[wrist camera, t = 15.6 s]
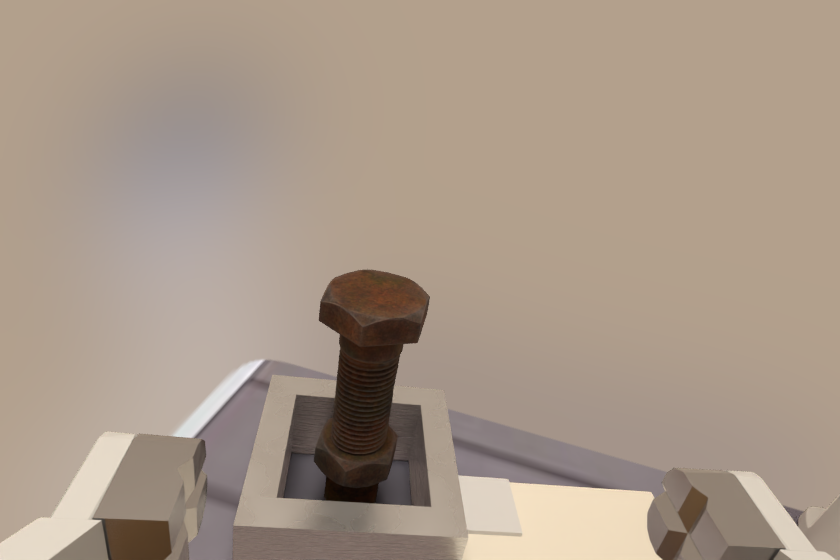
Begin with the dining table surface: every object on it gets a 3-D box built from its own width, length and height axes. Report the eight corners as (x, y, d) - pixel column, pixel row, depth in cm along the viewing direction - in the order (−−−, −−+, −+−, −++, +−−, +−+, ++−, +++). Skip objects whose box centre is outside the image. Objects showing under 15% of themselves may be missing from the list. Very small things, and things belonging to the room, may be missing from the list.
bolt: (325, 459, 38) (346, 259, 31) (398, 477, 37) (435, 278, 31) (293, 530, 33) (310, 308, 26) (377, 552, 32) (417, 331, 26)
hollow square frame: (431, 444, 41) (444, 390, 38) (449, 598, 31) (468, 537, 28) (269, 432, 39) (272, 374, 37) (231, 590, 29) (233, 525, 27)
